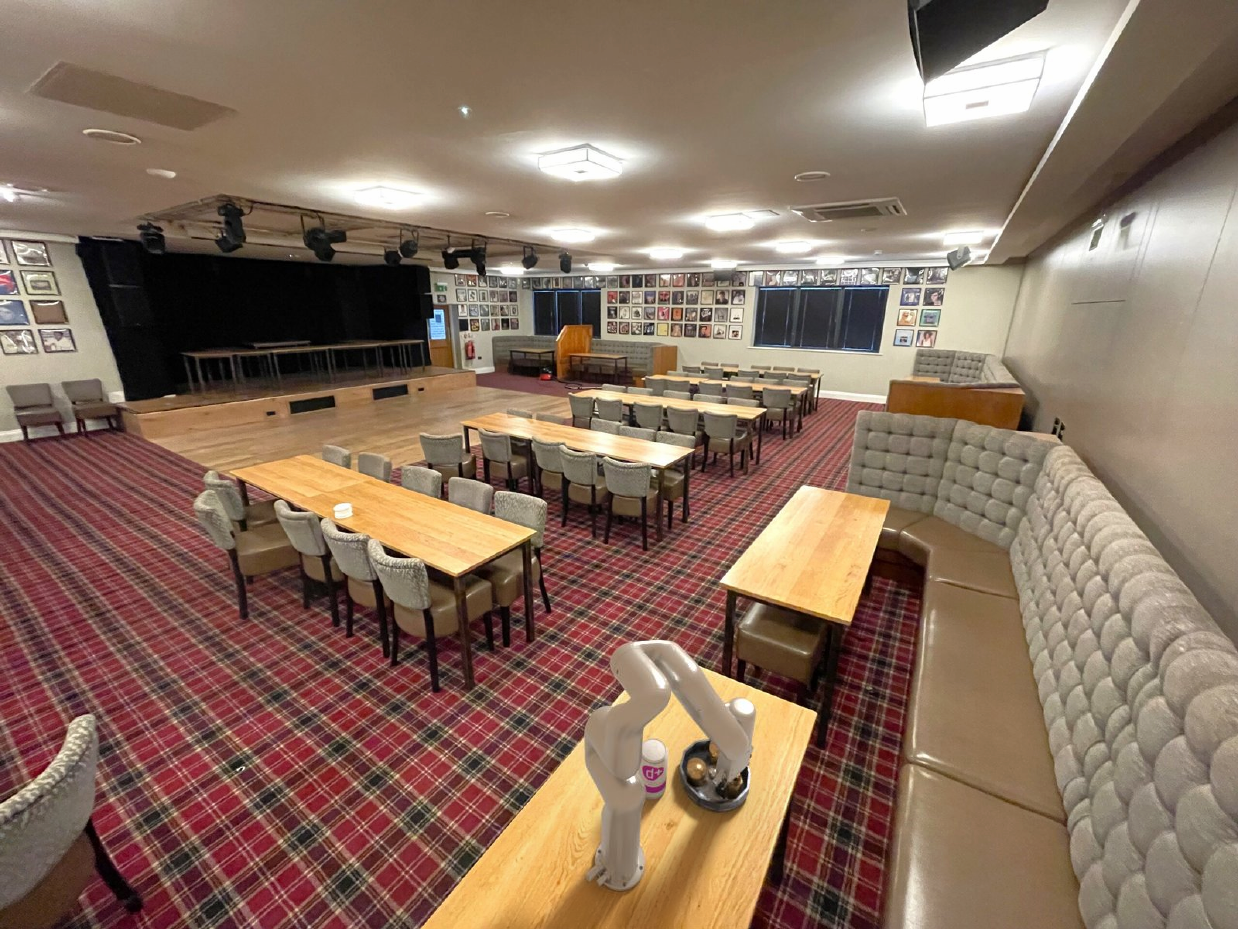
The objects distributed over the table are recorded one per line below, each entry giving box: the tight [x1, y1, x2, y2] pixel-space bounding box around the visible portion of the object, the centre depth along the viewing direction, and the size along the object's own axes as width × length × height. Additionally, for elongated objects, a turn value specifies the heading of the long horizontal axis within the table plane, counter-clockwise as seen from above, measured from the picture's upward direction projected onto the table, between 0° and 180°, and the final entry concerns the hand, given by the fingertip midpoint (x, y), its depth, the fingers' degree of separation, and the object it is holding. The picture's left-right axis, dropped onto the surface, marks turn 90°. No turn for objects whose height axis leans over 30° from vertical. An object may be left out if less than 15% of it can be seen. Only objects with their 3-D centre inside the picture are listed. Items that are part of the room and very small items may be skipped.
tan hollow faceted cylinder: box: [721, 773, 742, 799], centre depth 140 cm, size 5×5×5 cm
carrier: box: [678, 738, 752, 813], centre depth 145 cm, size 20×20×6 cm
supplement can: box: [638, 737, 669, 800], centre depth 140 cm, size 8×8×15 cm
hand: (731, 784), depth 141 cm, fingers open, 9 cm apart
